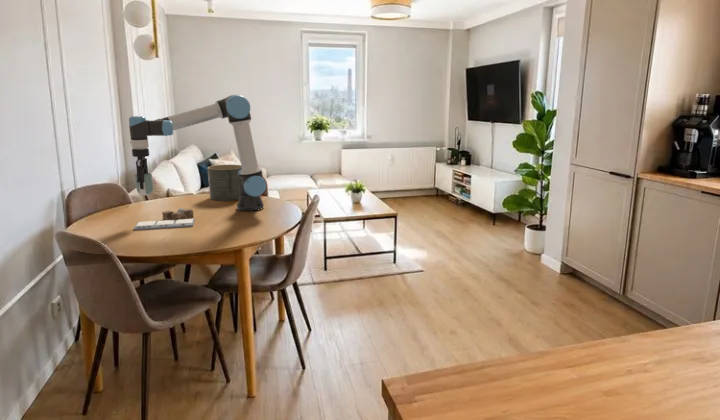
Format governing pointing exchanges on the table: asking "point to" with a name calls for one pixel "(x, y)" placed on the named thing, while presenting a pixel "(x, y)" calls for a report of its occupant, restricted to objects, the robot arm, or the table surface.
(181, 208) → the grey ball
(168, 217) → the walnut block
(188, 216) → the walnut block
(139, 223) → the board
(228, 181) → the planter
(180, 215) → the walnut block
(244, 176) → the robot arm
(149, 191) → the cup
